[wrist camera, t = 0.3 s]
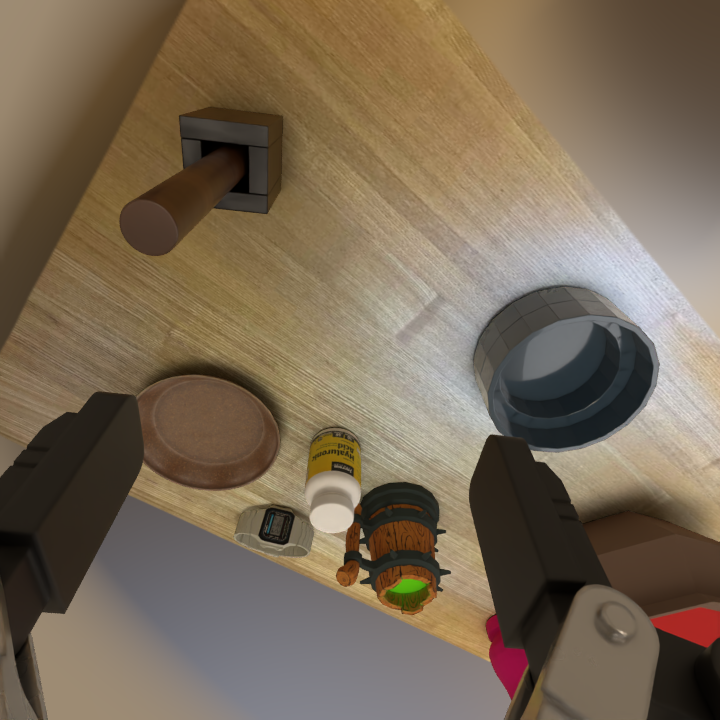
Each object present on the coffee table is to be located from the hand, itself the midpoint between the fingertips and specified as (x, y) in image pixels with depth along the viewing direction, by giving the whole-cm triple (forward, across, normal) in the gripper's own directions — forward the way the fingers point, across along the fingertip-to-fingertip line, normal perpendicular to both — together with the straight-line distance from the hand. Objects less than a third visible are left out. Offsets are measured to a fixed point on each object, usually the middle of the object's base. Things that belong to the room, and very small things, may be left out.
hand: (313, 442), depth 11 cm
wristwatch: (+29, +3, +41) cm, 50 cm away
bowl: (+30, -21, +14) cm, 39 cm away
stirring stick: (+30, +8, -1) cm, 31 cm away
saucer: (+29, +11, +26) cm, 41 cm away
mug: (+29, -10, +36) cm, 48 cm away
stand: (+30, +8, -1) cm, 31 cm away
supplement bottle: (+30, -2, +28) cm, 40 cm away
